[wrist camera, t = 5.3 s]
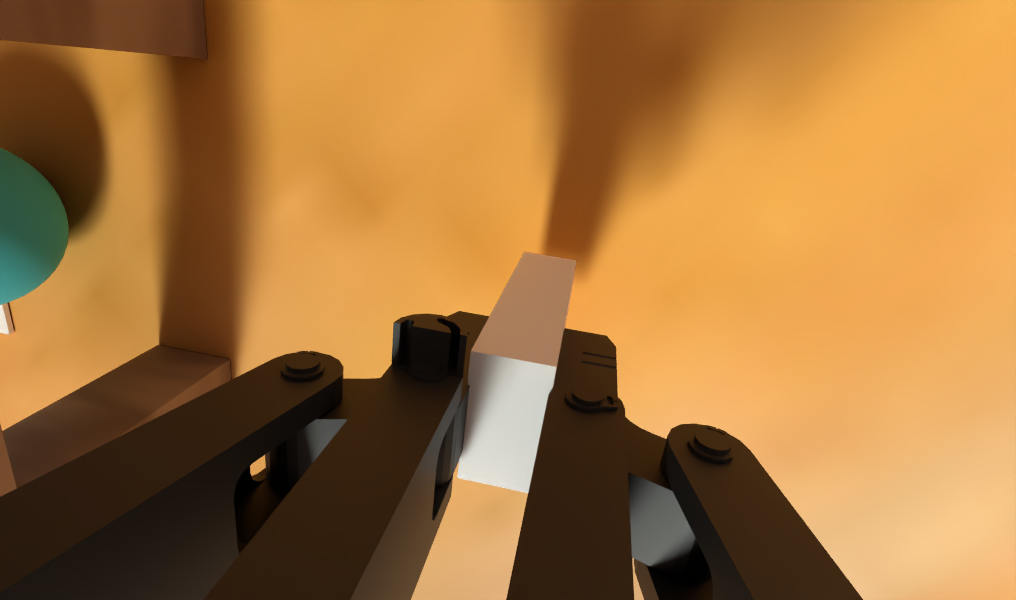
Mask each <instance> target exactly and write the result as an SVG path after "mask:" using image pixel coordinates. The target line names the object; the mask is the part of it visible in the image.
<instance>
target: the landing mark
mask: <svg viewBox="0 0 1016 600" xmlns="http://www.w3.org/2000/svg"><path fill="white" fill-rule="evenodd" d="M0 333H4V334H12V333H14V329H13V325H12V320H11V316H10V312H9V307H8V303H5V304H2V305H0Z"/></svg>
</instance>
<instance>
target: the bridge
mask: <svg viewBox="0 0 1016 600" xmlns="http://www.w3.org/2000/svg"><path fill="white" fill-rule="evenodd" d="M0 40H8V41H19V42H30V43H41V44H51V45H62V46H73V47H84V48H95V49H105V50H116V51H127V52H138V53H148V54H159V55H170V56H181V57H191V58H202V59H207V47H206V33H205V20H204V7H203V0H0ZM230 380H231V369H230V359H225V358H220V357H215V356H210V355H205V354H200V353H195V352H190V351H185V350H180V349H175V348H170V347H165V346H160V345H157V346H155V347H154V348H152V349H150V350H148V351H146V352H145V353H143V354H141V355H139V356H137V357H136V358H134V359H132V360H130V361H128V362H127V363H125V364H123V365H121V366H119V367H117V368H116V369H114V370H112V371H110V372H108V373H107V374H105V375H103V376H101V377H99V378H98V379H96V380H94V381H92V382H90V383H89V384H87V385H85V386H83V387H81V388H80V389H78V390H76V391H74V392H72V393H70V394H69V395H67V396H65V397H63V398H61V399H60V400H58V401H56V402H54V403H52V404H51V405H49V406H47V407H45V408H43V409H42V410H40V411H38V412H36V413H34V414H32V415H31V416H29V417H27V418H25V419H23V420H22V421H20V422H18V423H16V424H14V425H13V426H11V427H9V428H7V429H5V430H4V431H2V429H1V425H0V497H1V496H3V495H5V494H7V493H9V492H11V491H13V490H15V489H17V488H19V487H20V486H22V485H24V484H26V483H28V482H30V481H32V480H34V479H36V478H38V477H40V476H42V475H44V474H46V473H48V472H50V471H52V470H54V469H56V468H58V467H60V466H62V465H64V464H66V463H68V462H70V461H72V460H74V459H76V458H78V457H80V456H82V455H84V454H86V453H88V452H90V451H92V450H94V449H96V448H98V447H100V446H102V445H104V444H106V443H108V442H110V441H112V440H114V439H116V438H118V437H120V436H122V435H124V434H125V433H127V432H129V431H131V430H133V429H135V428H137V427H139V426H141V425H143V424H145V423H147V422H149V421H151V420H153V419H155V418H157V417H159V416H161V415H163V414H165V413H167V412H169V411H171V410H173V409H175V408H177V407H179V406H181V405H183V404H185V403H187V402H189V401H191V400H193V399H195V398H197V397H199V396H201V395H203V394H205V393H207V392H209V391H211V390H213V389H215V388H217V387H219V386H221V385H223V384H225V383H227V382H228V381H230Z"/></svg>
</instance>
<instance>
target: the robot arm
mask: <svg viewBox="0 0 1016 600" xmlns="http://www.w3.org/2000/svg"><path fill="white" fill-rule="evenodd" d="M576 262H577V260H572V259H566V258H560V257H554V256H548V255H542V254H536V253H529V252H524V253H523V255H522V257H521V259H520V261H519V262H518V264H517V266H516V268H515V270H514V272H513V274H512V275H511V277H510V279H509V281H508V283H507V285H506V287H505V288H504V290H503V292H502V294H501V296H500V298H499V300H498V301H497V303H496V305H495V307H494V309H493V311H492V313H491V314H490V316H484V315H478V314H473V313H467V312H462V311H458V312H456V313H454V314H452V315H449V316H447V317H446V316H442V315H435V314H414V315H410V316H406V317H402V318H400V319H398V320H397V321H395V322H394V326H393V347H392V364H391V366H390V367H389V368H388V369H387V371H386V372H385V373H384V374H383V376H382V377H381V378H375V379H343V366H342V364H341V363H340V361H339V360H338V359H336V358H334V357H332V356H330V355H327V354H322V353H318V352H313V351H310V352H308V351H299V352H297V353H291V354H285V355H283V356H280V357H277V358H274V359H272V360H270V361H268V362H266V363H264V364H262V365H260V366H258V367H256V368H254V369H252V370H250V371H248V372H246V373H244V374H242V375H240V376H238V377H236V378H234V379H232V380H230V381H228V382H227V383H225V384H223V385H221V386H219V387H217V388H215V389H213V390H211V391H209V392H207V393H205V394H203V395H201V396H199V397H197V398H195V399H193V400H191V401H189V402H187V403H185V404H183V405H181V406H179V407H177V408H175V409H173V410H171V411H169V412H167V413H165V414H163V415H161V416H159V417H157V418H155V419H153V420H151V421H149V422H147V423H145V424H143V425H141V426H139V427H137V428H135V429H133V430H131V431H129V432H127V433H125V434H124V435H122V436H120V437H118V438H116V439H114V440H112V441H110V442H108V443H106V444H104V445H102V446H100V447H98V448H96V449H94V450H92V451H90V452H88V453H86V454H84V455H82V456H80V457H78V458H76V459H74V460H72V461H70V462H68V463H66V464H64V465H62V466H60V467H58V468H56V469H54V470H52V471H50V472H48V473H46V474H44V475H42V476H40V477H38V478H36V479H34V480H32V481H30V482H28V483H26V484H24V485H22V486H20V487H19V488H17V489H15V490H13V491H11V492H9V493H7V494H5V495H3V496H1V497H0V600H411V597H412V595H413V592H414V590H415V587H416V585H417V582H418V579H419V577H420V574H421V572H422V569H423V567H424V564H425V561H426V559H427V556H428V554H429V551H430V549H431V546H432V543H433V541H434V538H435V536H436V533H437V531H438V528H439V525H440V523H441V520H442V518H443V515H444V513H445V510H446V507H447V505H448V502H449V500H450V497H451V490H452V480H453V473H454V471H455V468H456V466H457V463H458V461H459V468H458V477H457V478H460V479H465V480H470V481H474V482H479V483H484V484H488V485H493V486H498V487H502V488H507V489H512V490H516V491H521V492H525V493H528V497H527V502H526V507H525V512H524V516H523V521H522V526H521V531H520V536H519V541H518V546H517V551H516V555H515V560H514V565H513V570H512V575H511V580H510V585H509V590H508V594H507V599H506V600H634V587H633V567H632V558H634V566H635V573H636V576H637V579H638V582H639V585H640V588H641V591H642V594H643V597H644V600H863V599H862V598H861V596H860V595H859V594H858V592H857V591H856V590H855V588H854V587H853V586H852V584H851V583H850V582H849V580H848V579H847V578H846V576H845V575H844V574H843V572H842V571H841V570H840V568H839V567H838V566H837V564H836V563H835V562H834V561H833V559H832V558H831V557H830V555H829V554H828V553H827V551H826V550H825V549H824V547H823V546H822V545H821V543H820V542H819V541H818V539H817V538H816V537H815V535H814V534H813V533H812V531H811V530H810V529H809V527H808V526H807V525H806V524H805V522H804V521H803V520H802V518H801V517H800V516H799V514H798V513H797V512H796V510H795V509H794V508H793V506H792V505H791V504H790V502H789V501H788V500H787V498H786V497H785V496H784V494H783V493H782V492H781V490H780V489H779V488H778V487H777V485H776V484H775V483H774V481H773V480H772V479H771V477H770V476H769V475H768V473H767V472H766V471H765V469H764V468H763V467H762V465H761V464H760V463H759V461H758V460H757V459H756V457H755V456H754V455H753V453H752V452H751V451H750V450H749V449H748V448H747V447H746V446H745V445H744V444H743V443H742V442H741V441H740V440H738V439H736V438H735V437H733V436H731V435H730V434H728V433H727V432H725V431H723V430H721V429H716V427H712V426H708V425H699V424H681V425H679V426H676V427H674V428H672V429H671V431H670V432H669V434H668V436H667V439H665V438H662V437H660V436H657V435H655V434H652V433H650V432H648V431H646V430H643V429H641V428H639V427H638V426H636V425H635V424H633V423H632V422H630V421H629V420H628V419H627V418H626V417H625V408H624V405H623V403H622V401H621V400H620V399H619V398H618V394H617V369H616V368H617V363H616V346H615V345H614V344H613V343H612V342H611V340H610V339H609V338H608V337H607V336H605V335H599V334H594V333H588V332H582V331H577V330H571V329H566V328H565V325H566V319H567V314H568V308H569V302H570V296H571V290H572V285H573V279H574V273H575V267H576ZM264 455H265V462H266V468H265V469H263V470H262V471H261V472H259V473H258V474H256V475H253V476H251V474H250V465H251V464H252V463H253V462H255V461H256V460H258V459H259V458H261V457H262V456H264Z"/></svg>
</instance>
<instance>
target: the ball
mask: <svg viewBox="0 0 1016 600" xmlns="http://www.w3.org/2000/svg"><path fill="white" fill-rule="evenodd" d="M68 235H69V228H68V219H67V215H66V211H65V208H64V206H63V204H62V201H61V199H60V197H59V195H58V194H57V192H56V191H55V189H54V188H53V187H52V185H51V184H50V183H49V181H48V180H47V179H46V178H45V177H44V176H43V175H42V174H41V173H40V172H39V171H38V170H36V169H35V168H34V167H32V166H31V165H30V164H28V163H27V162H26V161H24V160H23V159H21V158H19V157H18V156H16V155H14V154H12V153H11V152H9V151H7V150H5V149H2V148H0V305H2V304H5V303H8V302H10V301H13V300H15V299H17V298H20V297H22V296H24V295H26V294H28V293H29V292H31V291H33V290H34V289H36V288H37V287H38V286H40V285H41V284H42V283H43V282H44V281H46V280H47V279H48V278H49V276H50V275H51V274H52V273H53V272H54V271H55V270H56V268H57V267H58V265H59V263H60V262H61V260H62V258H63V256H64V253H65V250H66V247H67V243H68Z"/></svg>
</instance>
